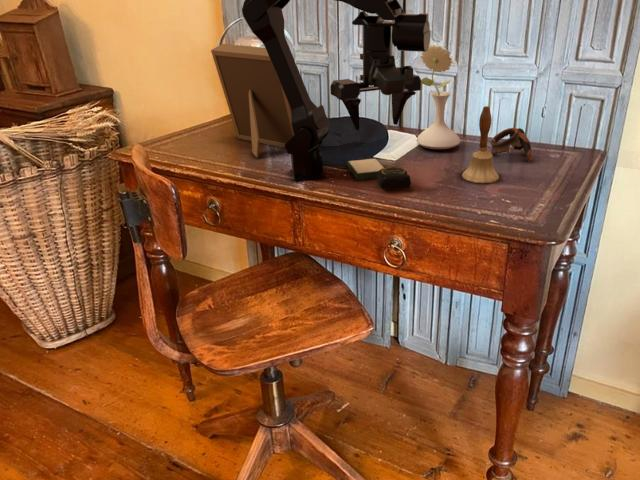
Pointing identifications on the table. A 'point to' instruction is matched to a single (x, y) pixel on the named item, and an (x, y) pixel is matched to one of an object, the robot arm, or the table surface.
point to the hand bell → (482, 155)
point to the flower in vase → (437, 103)
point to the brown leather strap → (512, 142)
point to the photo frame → (253, 95)
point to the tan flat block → (364, 168)
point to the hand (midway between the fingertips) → (376, 127)
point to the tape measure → (393, 178)
